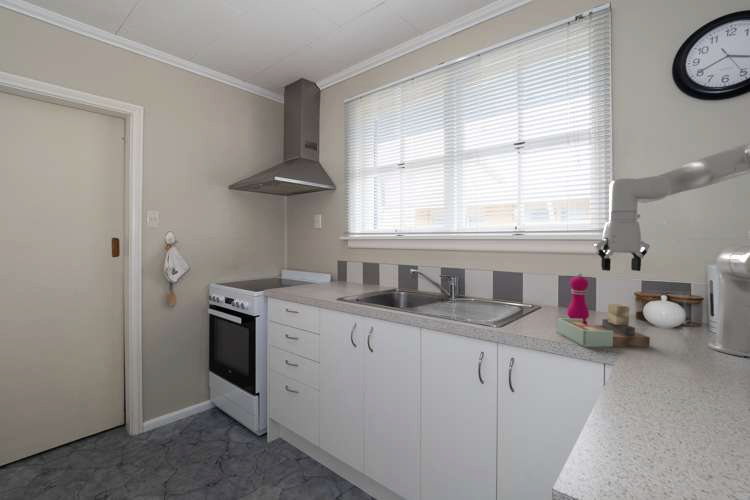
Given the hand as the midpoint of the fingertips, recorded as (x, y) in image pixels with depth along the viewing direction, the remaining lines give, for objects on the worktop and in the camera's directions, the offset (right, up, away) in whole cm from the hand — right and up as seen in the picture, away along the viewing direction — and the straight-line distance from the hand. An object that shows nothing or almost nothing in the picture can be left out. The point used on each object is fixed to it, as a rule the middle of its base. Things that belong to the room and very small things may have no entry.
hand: (620, 270), depth 113 cm
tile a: (-10, -20, -2) cm, 23 cm away
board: (-1, -23, +1) cm, 23 cm away
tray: (-12, -23, +1) cm, 26 cm away
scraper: (0, -20, +1) cm, 20 cm away
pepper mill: (-2, -22, +20) cm, 30 cm away
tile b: (-10, -20, +4) cm, 23 cm away
